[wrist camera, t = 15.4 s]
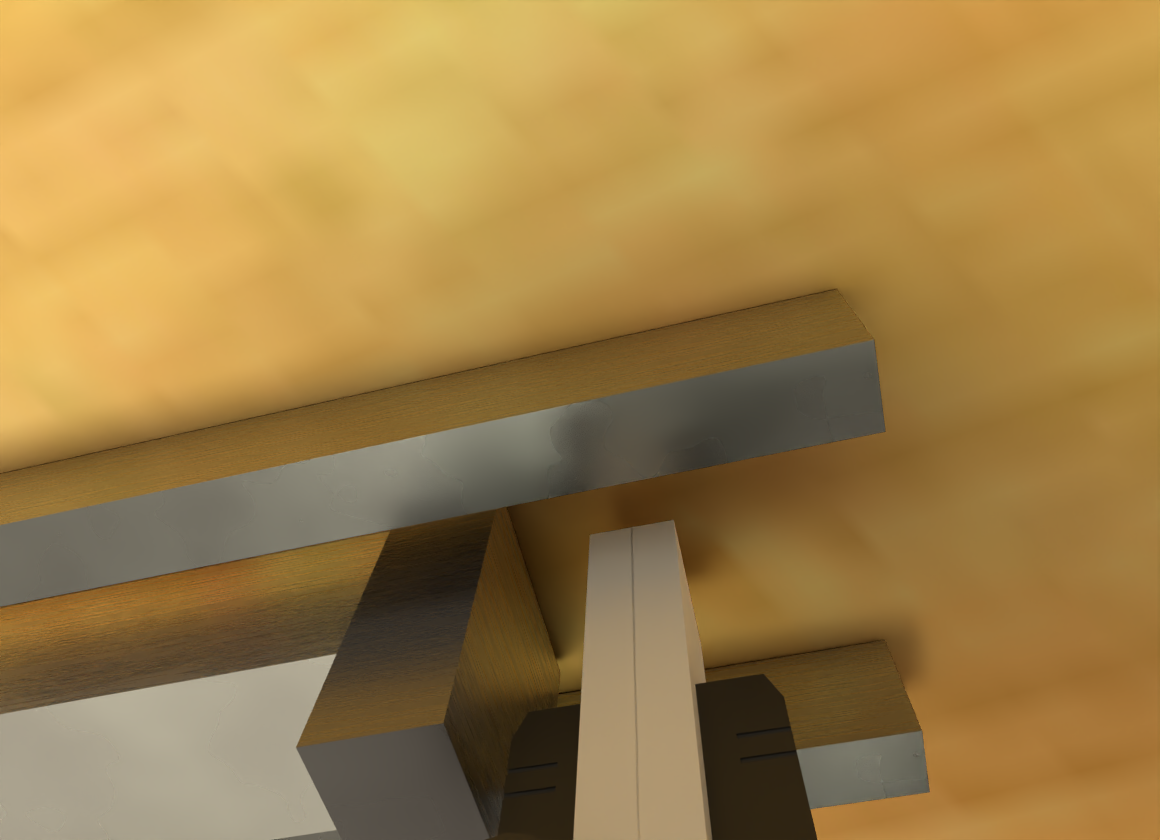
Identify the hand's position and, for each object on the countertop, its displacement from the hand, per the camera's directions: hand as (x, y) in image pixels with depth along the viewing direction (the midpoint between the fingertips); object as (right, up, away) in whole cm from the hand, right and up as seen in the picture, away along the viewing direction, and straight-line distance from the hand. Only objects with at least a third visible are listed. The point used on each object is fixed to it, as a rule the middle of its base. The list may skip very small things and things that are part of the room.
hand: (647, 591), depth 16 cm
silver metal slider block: (-8, -1, +2) cm, 8 cm away
